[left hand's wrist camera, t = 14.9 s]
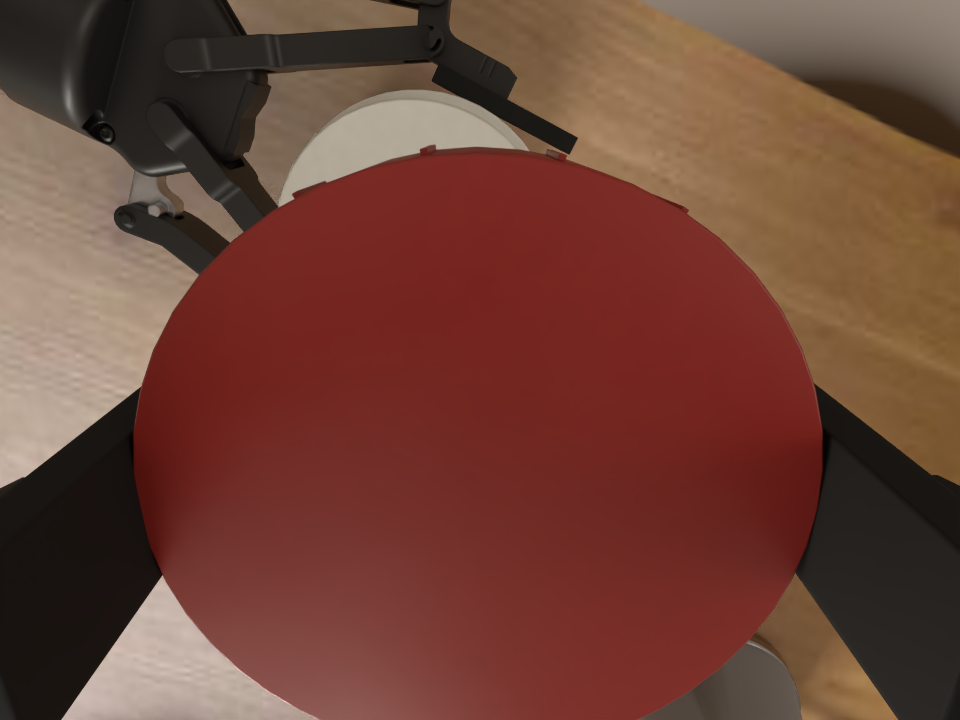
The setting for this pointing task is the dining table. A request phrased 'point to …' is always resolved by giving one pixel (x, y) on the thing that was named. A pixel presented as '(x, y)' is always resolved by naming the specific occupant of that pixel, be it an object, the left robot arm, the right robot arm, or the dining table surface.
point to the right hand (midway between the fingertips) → (514, 250)
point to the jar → (394, 135)
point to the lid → (478, 445)
